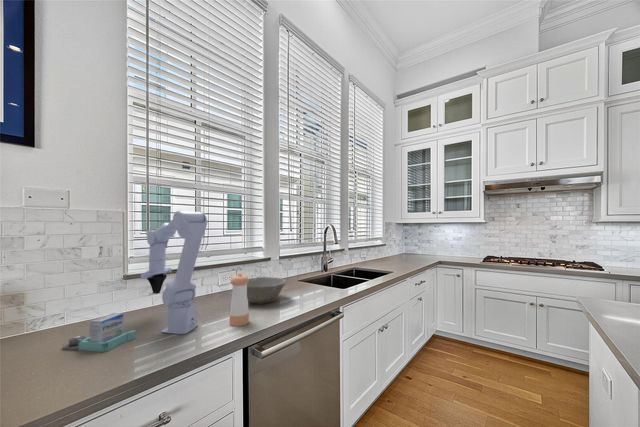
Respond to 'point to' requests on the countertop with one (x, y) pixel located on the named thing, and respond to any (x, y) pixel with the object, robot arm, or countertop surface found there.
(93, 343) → the chassis
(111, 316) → the medicine box
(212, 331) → the countertop surface
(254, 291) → the ceramic bowl
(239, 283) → the salt shaker
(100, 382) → the countertop surface
